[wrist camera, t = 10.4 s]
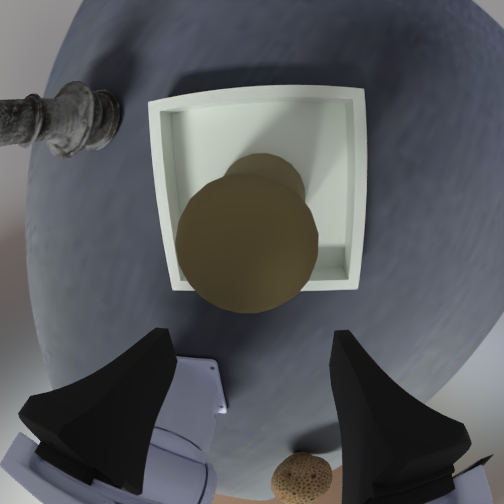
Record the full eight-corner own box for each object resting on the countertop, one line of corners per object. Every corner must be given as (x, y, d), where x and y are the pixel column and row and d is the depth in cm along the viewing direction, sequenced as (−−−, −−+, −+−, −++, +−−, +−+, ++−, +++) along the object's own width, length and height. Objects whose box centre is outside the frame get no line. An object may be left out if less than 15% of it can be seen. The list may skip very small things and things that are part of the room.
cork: (312, 229, 19) (344, 326, 9) (230, 244, 20) (184, 345, 10) (296, 145, 17) (323, 145, 7) (209, 163, 18) (126, 192, 8)
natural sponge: (279, 437, 31) (275, 498, 22) (339, 439, 30) (344, 496, 21) (269, 459, 34) (264, 509, 25) (320, 461, 34) (322, 509, 25)
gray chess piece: (126, 144, 18) (-10, 163, 7) (76, 161, 19) (-40, 192, 8) (121, 76, 16) (-5, 52, 5) (71, 100, 17) (-42, 103, 6)
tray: (350, 274, 20) (357, 289, 18) (182, 275, 22) (172, 290, 20) (353, 94, 15) (363, 88, 13) (162, 105, 17) (148, 102, 15)
